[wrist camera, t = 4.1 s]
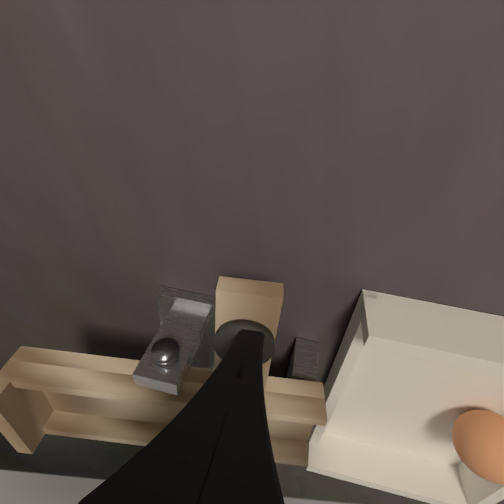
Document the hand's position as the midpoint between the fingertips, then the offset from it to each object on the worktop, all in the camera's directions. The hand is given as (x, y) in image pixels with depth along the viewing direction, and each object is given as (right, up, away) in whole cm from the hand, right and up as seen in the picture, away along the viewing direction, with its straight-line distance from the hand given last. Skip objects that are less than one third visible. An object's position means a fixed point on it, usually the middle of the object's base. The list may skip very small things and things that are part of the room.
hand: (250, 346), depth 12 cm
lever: (-4, -1, +3) cm, 5 cm away
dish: (+10, -4, +6) cm, 12 cm away
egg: (+12, -6, +4) cm, 14 cm away
